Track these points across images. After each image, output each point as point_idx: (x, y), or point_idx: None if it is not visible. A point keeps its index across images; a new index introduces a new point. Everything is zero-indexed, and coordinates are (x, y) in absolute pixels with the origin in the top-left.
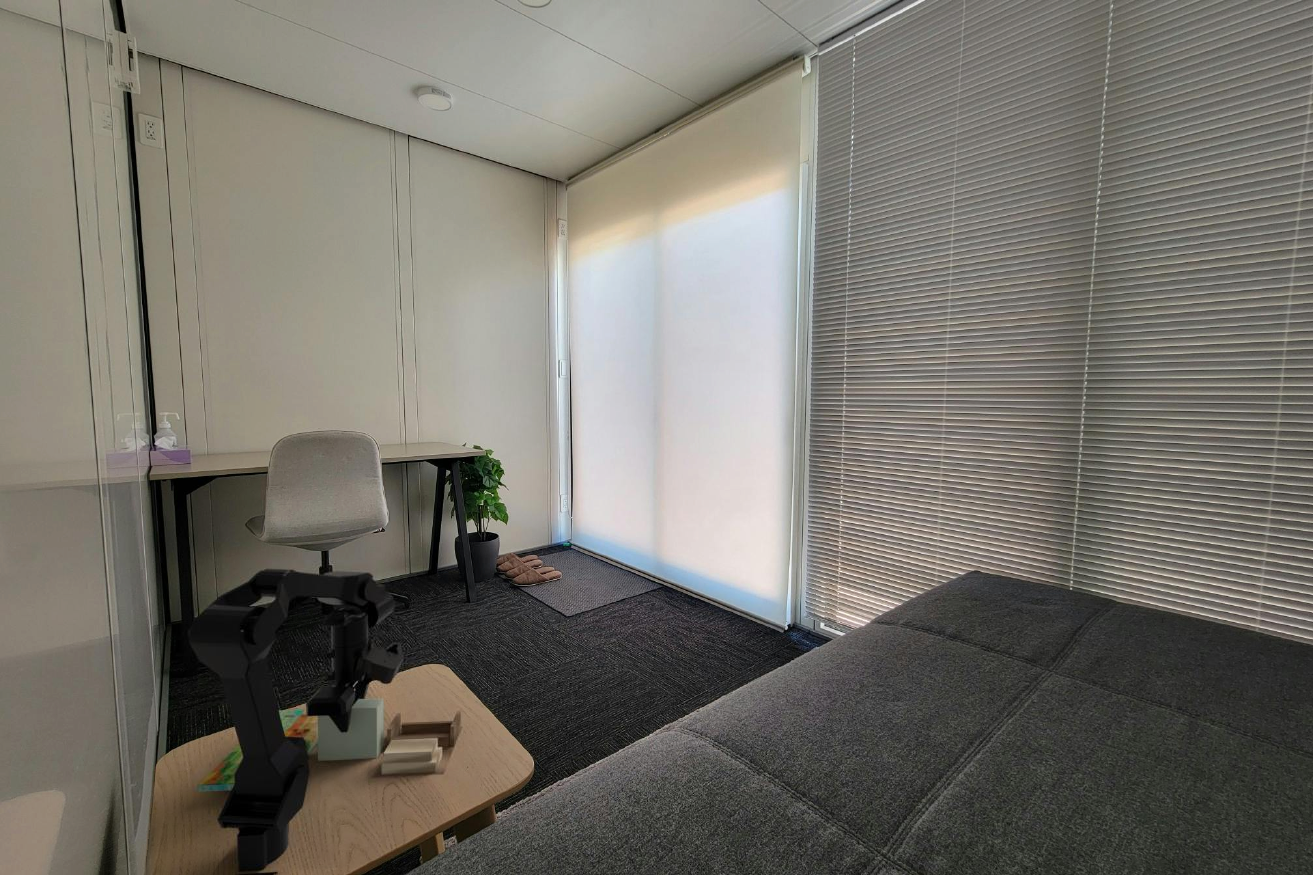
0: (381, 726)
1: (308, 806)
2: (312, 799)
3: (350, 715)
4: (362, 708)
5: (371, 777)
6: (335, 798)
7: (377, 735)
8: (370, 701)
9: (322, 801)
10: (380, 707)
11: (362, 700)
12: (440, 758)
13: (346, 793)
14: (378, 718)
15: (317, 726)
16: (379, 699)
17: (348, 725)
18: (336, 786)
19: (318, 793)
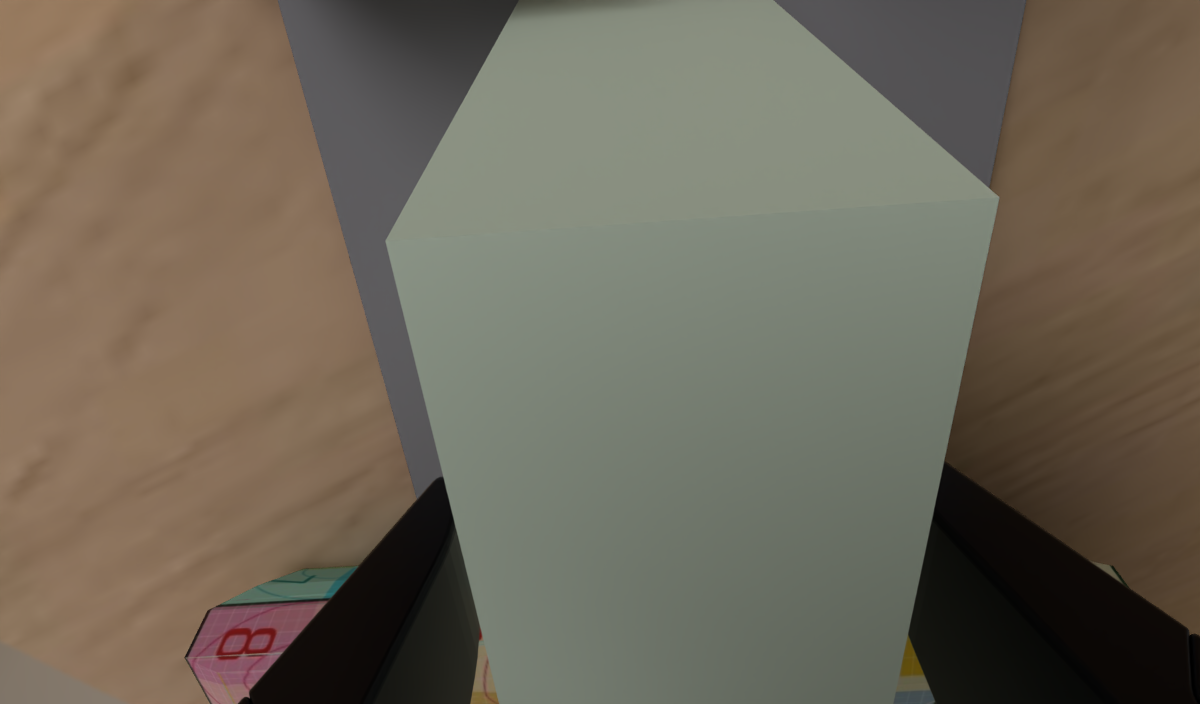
0: (587, 32)
1: (1183, 281)
2: (1108, 292)
3: (1062, 623)
4: (913, 541)
5: None
6: (1165, 118)
7: (750, 10)
8: (597, 508)
9: (1163, 207)
10: (654, 155)
11: (561, 667)
12: None
13: (1129, 49)
14: (762, 78)
15: (477, 676)
16: (476, 331)
17: (960, 495)
18: (1000, 188)
19: (1049, 284)
